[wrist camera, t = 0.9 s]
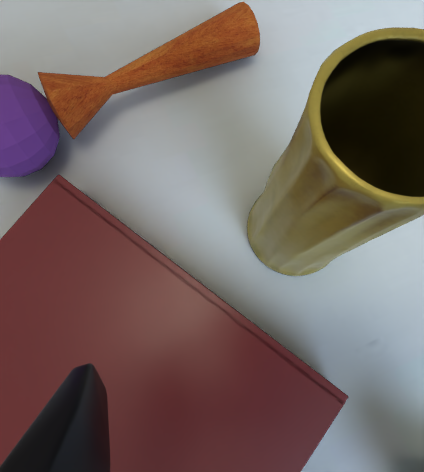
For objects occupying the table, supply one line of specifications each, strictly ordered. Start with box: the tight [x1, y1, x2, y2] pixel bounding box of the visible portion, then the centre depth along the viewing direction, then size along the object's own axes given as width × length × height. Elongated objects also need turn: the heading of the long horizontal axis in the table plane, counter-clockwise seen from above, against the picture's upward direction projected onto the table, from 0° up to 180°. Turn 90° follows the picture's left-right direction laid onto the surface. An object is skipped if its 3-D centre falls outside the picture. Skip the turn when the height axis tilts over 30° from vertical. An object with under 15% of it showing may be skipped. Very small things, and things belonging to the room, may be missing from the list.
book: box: [0, 175, 348, 472], centre depth 20 cm, size 20×13×3 cm, turn 53°
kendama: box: [0, 2, 260, 177], centre depth 23 cm, size 6×6×20 cm
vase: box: [247, 28, 424, 276], centre depth 16 cm, size 6×6×14 cm
